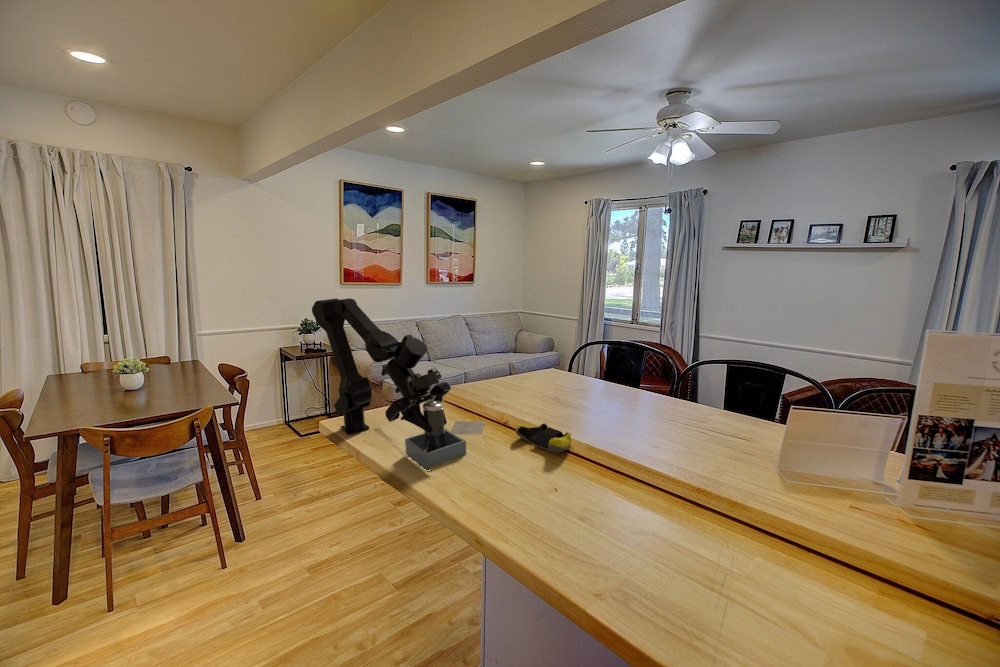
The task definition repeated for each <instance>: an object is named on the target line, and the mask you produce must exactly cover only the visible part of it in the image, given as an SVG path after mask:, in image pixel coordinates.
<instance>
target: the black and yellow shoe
mask: <svg viewBox="0 0 1000 667" xmlns="http://www.w3.org/2000/svg"><path fill="white" fill-rule="evenodd" d="M548 425H549V424H548V423H541V424H538V426H535V427H534V426H532V425H531V426H530V425H526V424H517V425H516V427H515V430H514V431H515V434H516V435H517V436H518V437H519V438H520V439H521V440H523V441H526V442H528V443H529V444H532V445H534V447H536V448H541V449H543V450H545V451H546V452H552V453H554V454H559V453H562V452H565V451H567V450H568V449H570V448H571V444H572V443H571V442H572V441H571V440H572V439H571V437H572V433H571V432H569V431H568V432H565V433H563V432H562V431H561V430H558V429H555V428H552V427H550V426H549V427H548Z"/></svg>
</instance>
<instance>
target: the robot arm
mask: <svg viewBox="0 0 1000 667" xmlns="http://www.w3.org/2000/svg"><path fill="white" fill-rule="evenodd" d="M311 313H312V316H313V317H314V320H315V322H316V324H317V325H318V326H319V327H320V328H321V329H323V330H324V331H325V333H326V335H327V340H328V342H329V345H330V348H331V351H332V355H333V358H334V361H335V364H336V367H337V370H338V373H339V377H340V381H339V382H340V383H339V386H338V393H339V397H338V399H337V400H336V401H335V403H334V408H335V409H334V410H335V412H336V413H339V414H342V415H343V423H344V424H343V425H341V426H340V429H341V428H342V429H343V430H344V431H345V432H346V433H345V432H344V433H345V434H347V435H351V434H350V433H352V434H354V433H353V432H356V433H358V432H357V431H359V432H362V430H363V431H366V429H367V430H369V429H370V426H369V425H368V424H366V423H365V421H366V420H365V412H364V411H365V410H364V409H365V408H367V407H370V406H371V401H372V396H373V394H372V390H373V389H372V387H371V384H370V381H369V378H368V377H367V376H364V377H363V376H362V375H361V374H359V370H358V368H357V365H356V361H355V358H354V356H353V352H352V350H351V346H350V343H349V340H348V336H347V333H346V330H345V328H344V326H345V321H346V322H347V323H348V324H349V325H350V327H352V329H354V331H355V332H356V333H357V335H359V337H361V339H362V340H363V342H364V343H365V351H366V352H367V354H368V355H369V357H370V358H371V360H372V361H373V362H375V363H382V362H386V361H388V362H387V363H386V364H382V369H381V376H382V377H384V376H387V375H388V376H389V378H390V379H391V381H392V382H393V384H394V386H395V390H394V392H395V393H396V394H399V393H400V395H401V396H402V397H401V398H397V399H395V400H393V401H392V402H391V404H390V405H389V406H388V408H387V409H386V410H385V417H386V419H387V421H388V422H389V423H391V422H394V421H396V420H398V419H399V418H400V421H406V422H408V423H410V424H413V425H415V426H416V427H418V428H419V429H421V430H423V431H424V430H425V431H427V432H428V433H430V432H431V431H432V429H431V427H430V425H429V423H428V422H427V420H426V419H425V417H424V415H423V413H422V411H421V404H424V403H426V402H429V401H440V402H443V399H444V397H446V395H447V394H448V393H450V391H451V389H452V387H451V386H450V384H449V383H448V382H446V381H442V382H440V381H439V380H441V379H442V374H441V371H440V370H439V369H438V368H437V367H434V368H431V369H428V370H427V373H426V374H423V375H422V374H420V373H419V372H418V373H415V371H414V370H413V369H414V368H416V366H417V365H418V364H419V362H420V361H421V360H422V359H423V357H424V356H425V355H426V353H427V351H428V348H427V345H426V343H425V342H424V341H422V340H420V339H419V338H416V337H414V336H413V335H412V334H406V335H404V337H403V338H402V340H401V341H398V339H396V338H395V337H394V335H392V334H390V333H389V332H386V331H384V330H381V329H380V328H379V327H378V326H376V324H375V323H374V322H373V320H372V319H370V317H369V316H367V314H366V313H365V312H364V311H363V310H362V309H361V307H359V305H358V304H357V300H356V299H353V298H350V297H349V298H341V299H339V298H329V299H328V298H327V299H322V300H321V299H320V300H316V301H314V304H313V305H312V307H311ZM432 386H433V387H432ZM428 391H429V392H428ZM400 414H401V415H402V416H401V415H400ZM400 416H401V417H400ZM447 423H448V422H447V418H446V414H445V413H444V426H445V425H447ZM343 430H342V431H343Z"/></svg>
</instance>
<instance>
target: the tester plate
mask: <svg viewBox="0 0 1000 667" xmlns="http://www.w3.org/2000/svg"><path fill="white" fill-rule="evenodd" d="M486 422H487V421H477V420H476V421H474V420H473V421H472V420H471V421H469V420H456V421H455V422H454V424H453V426H452V428H451V430H450V432H452V433H453V434H455V435H483V431H484V428H485V425H486Z"/></svg>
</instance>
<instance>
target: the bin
mask: <svg viewBox="0 0 1000 667" xmlns="http://www.w3.org/2000/svg"><path fill="white" fill-rule="evenodd" d="M444 429H445V444H448V445H447V446H446V445H445V447H443V448H440V449H437V450H434V451H431V452H428V453H427V452H426V450H423V449H422V448H424V447H425V432H424V433H421V434H416V435H413V436H410V437H407V438H405V440H404V445H405V455H406V454H407V455H408V456H409V457H411V458H412V459H413V460H414V461H416V462H417V463H418V464H419V465H420V466H422V467H423V468H424V469H426V470H429V469H431V468H430V467H434V466H436V465H439V464H442V463H445V462H448V461H450V460H453V459H456V458H459V457H462V456H464V455H467V441H466V440H465V439H464V438H462V437H460V436H458V434H453V433H452V432H451V430H449V429H446V428H445V427H444ZM407 455H406V456H407ZM408 456H407V457H408ZM409 457H408V458H409ZM412 459H411V460H412ZM413 460H412V461H413ZM414 461H413V462H414ZM417 463H416V464H417ZM418 464H417V465H418ZM419 465H418V466H419ZM420 466H419V467H420ZM423 468H422V469H423ZM424 469H423V470H424Z"/></svg>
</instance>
